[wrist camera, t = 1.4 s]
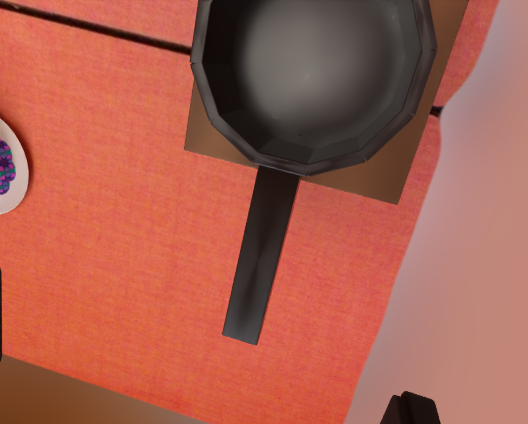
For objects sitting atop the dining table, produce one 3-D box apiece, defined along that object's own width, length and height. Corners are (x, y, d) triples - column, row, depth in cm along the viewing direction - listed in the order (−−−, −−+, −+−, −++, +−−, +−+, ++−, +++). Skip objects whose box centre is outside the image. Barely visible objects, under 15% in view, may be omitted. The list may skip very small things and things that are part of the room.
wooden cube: (430, -1, 32) (488, -56, 19) (379, 159, 36) (397, 205, 23) (270, -33, 33) (220, -105, 20) (240, 125, 38) (183, 150, 25)
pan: (243, -65, 20) (213, -107, 16) (444, -25, 19) (475, -58, 15) (186, 274, 27) (152, 314, 23) (331, 317, 26) (328, 370, 21)
